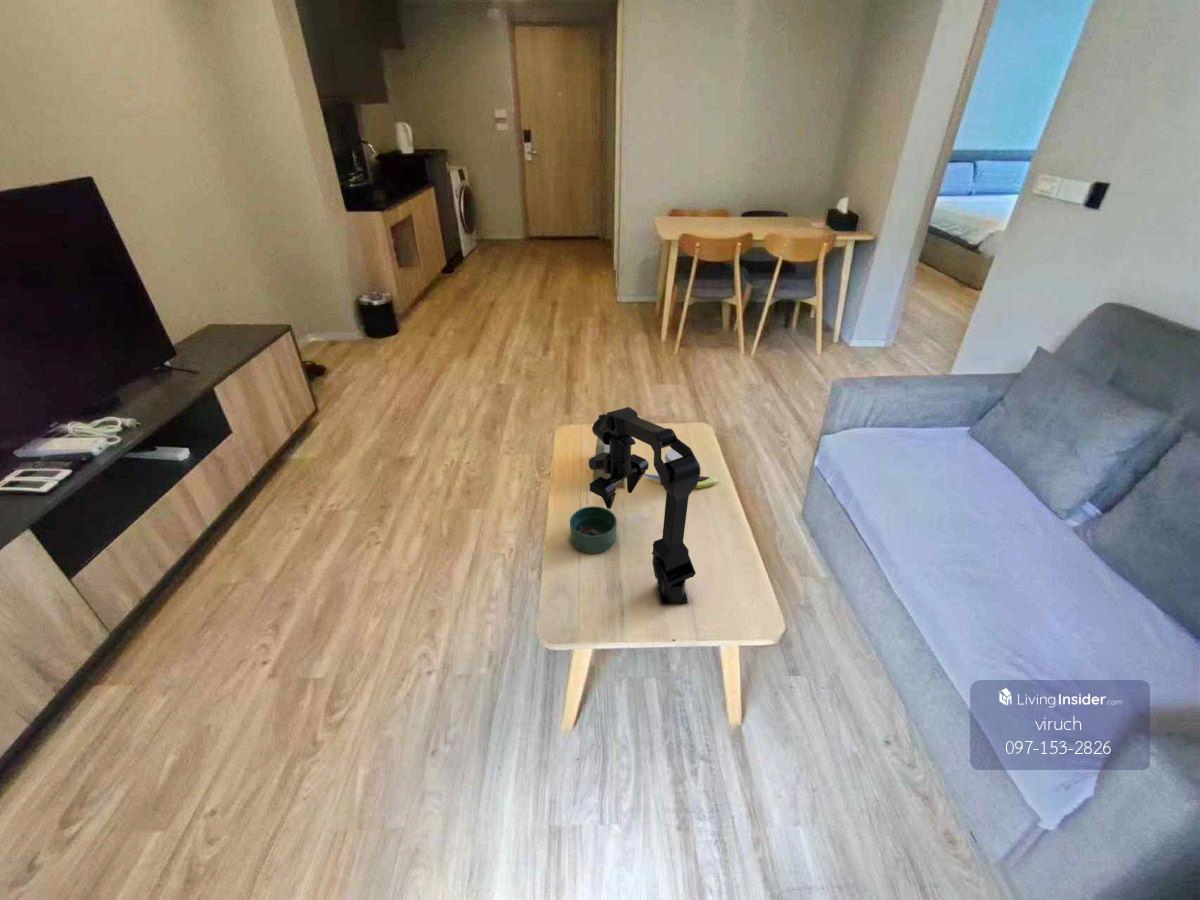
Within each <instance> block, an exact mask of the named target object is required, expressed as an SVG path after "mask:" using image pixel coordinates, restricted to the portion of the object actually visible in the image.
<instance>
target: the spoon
mask: <svg viewBox="0 0 1200 900" xmlns="http://www.w3.org/2000/svg"><path fill="white" fill-rule="evenodd" d="M581 534H584V535H590V536H597V535H602V534H601V533H600V532H598V531H596V530H595V529H593V528H592V527H590V526H585V527H583V528H582V529H581Z"/></svg>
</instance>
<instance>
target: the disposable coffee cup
mask: <svg viewBox="0 0 1200 900" xmlns="http://www.w3.org/2000/svg"><path fill="white" fill-rule="evenodd" d="M681 457H683V456H681V455H680V454H679V453H677V452H676V451H675V450H673V449H672V448H671V449H669V450H668V451H666V454H665V455H664V460H665V461H664V462H665V463H666V462H669V461H672V460H675V459H678V458H681Z"/></svg>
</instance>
